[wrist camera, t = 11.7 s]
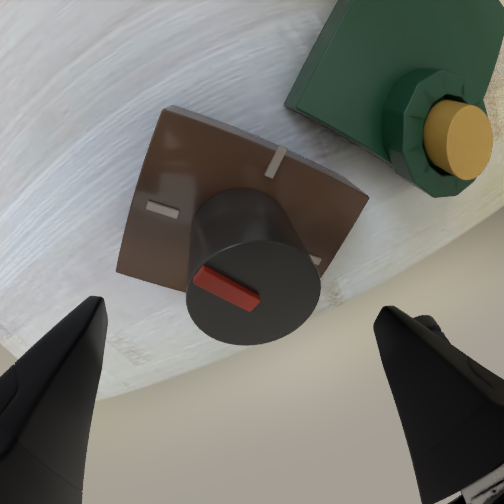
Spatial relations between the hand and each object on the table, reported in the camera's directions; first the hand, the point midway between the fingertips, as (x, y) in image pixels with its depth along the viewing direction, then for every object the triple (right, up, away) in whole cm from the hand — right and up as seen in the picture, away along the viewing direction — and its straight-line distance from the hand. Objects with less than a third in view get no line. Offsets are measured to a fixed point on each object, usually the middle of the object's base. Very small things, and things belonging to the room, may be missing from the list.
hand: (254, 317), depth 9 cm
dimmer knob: (-1, +3, +5) cm, 5 cm away
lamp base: (+9, +14, +3) cm, 17 cm away
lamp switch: (+10, +8, +2) cm, 12 cm away
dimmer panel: (-1, +4, +7) cm, 8 cm away
